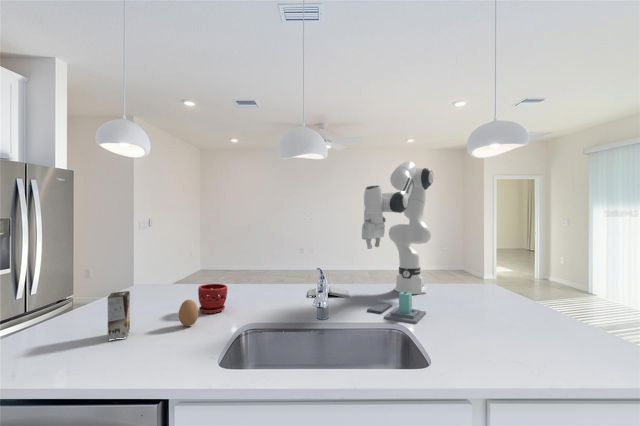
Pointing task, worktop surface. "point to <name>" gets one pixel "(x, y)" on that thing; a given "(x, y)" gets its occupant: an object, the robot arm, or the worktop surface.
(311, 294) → the gadget
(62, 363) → the worktop surface
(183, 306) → the egg
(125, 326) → the coffee box
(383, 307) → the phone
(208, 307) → the plant pot
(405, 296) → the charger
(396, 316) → the plate
